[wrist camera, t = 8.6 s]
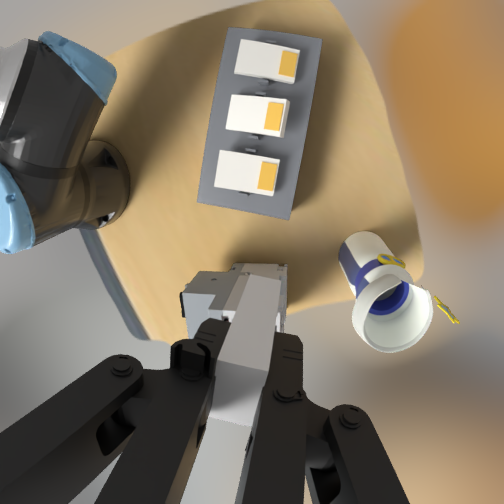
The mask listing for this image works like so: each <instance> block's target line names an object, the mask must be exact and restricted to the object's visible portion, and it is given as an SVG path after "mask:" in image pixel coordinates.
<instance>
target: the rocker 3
mask: <svg viewBox="0 0 504 504" xmlns="http://www.w3.org/2000/svg"><path fill="white" fill-rule="evenodd" d="M279 162H280V160H279V159H274V158H269V157H263V156H257V155H251V154H245V153H239V152H233V151H226V150H220V152H219V158H218V164H217V170H216V177H215V183H214V187H219V188H226V189H232V190H238V191H244V192H250V193H256V194H262V195H268V196H273V194H274V189H275V183H276V178H277V173H278V167H279Z"/></svg>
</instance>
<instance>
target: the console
mask: <svg viewBox="0 0 504 504" xmlns="http://www.w3.org/2000/svg"><path fill="white" fill-rule="evenodd" d="M241 39H245V40H251V41H257V42H263V43H268V44H273V45H278V46H283V47H288V48H292V49H296V50H300V52H299V58H298V64H297V69H296V75H295V81H294V83H293V84H288V83H284V82H279V81H274V80H269V79H264V78H258V77H252V76H246V75H240V74H234V70H235V65H236V61H237V56H238V51H239V46H240V41H241ZM321 46H322V39H319V38H314V37H309V36H303V35H297V34H291V33H284V32H276V31H268V30H259V29H248V28H234V27H228V31H227V35H226V40H225V44H224V49H223V53H222V58H221V63H220V67H219V72H218V77H217V82H216V88H215V93H214V98H213V103H212V109H211V114H210V120H209V126H208V132H207V138H206V144H205V150H204V156H203V163H202V169H201V176H200V183H199V190H198V198H197V202H198V203H203V204H208V205H214V206H219V207H225V208H230V209H235V210H240V211H245V212H250V213H255V214H260V215H265V216H270V217H275V218H280V219H285V220H289V219H290V214H291V209H292V204H293V199H294V194H295V189H296V184H297V179H298V174H299V169H300V164H301V159H302V154H303V148H304V143H305V138H306V132H307V127H308V122H309V116H310V110H311V105H312V99H313V93H314V88H315V82H316V76H317V70H318V64H319V58H320V52H321ZM232 95H247V96H259V97H269V98H279V99H287V100H288V101H290V105H289V111H288V116H287V122H286V127H285V133H284V138H281V137H275V136H269V135H262V134H256V133H249V132H241V131H234V130H228V129H226V123H227V117H228V112H229V106H230V101H231V96H232ZM220 150H226V151H233V152H239V153H245V154H251V155H257V156H263V157H269V158H274V159H279V160H280V162H279V167H278V173H277V178H276V183H275V189H274V194H273V196H268V195H262V194H256V193H250V192H244V191H238V190H232V189H226V188H219V187H214V183H215V177H216V170H217V164H218V158H219V152H220Z"/></svg>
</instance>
